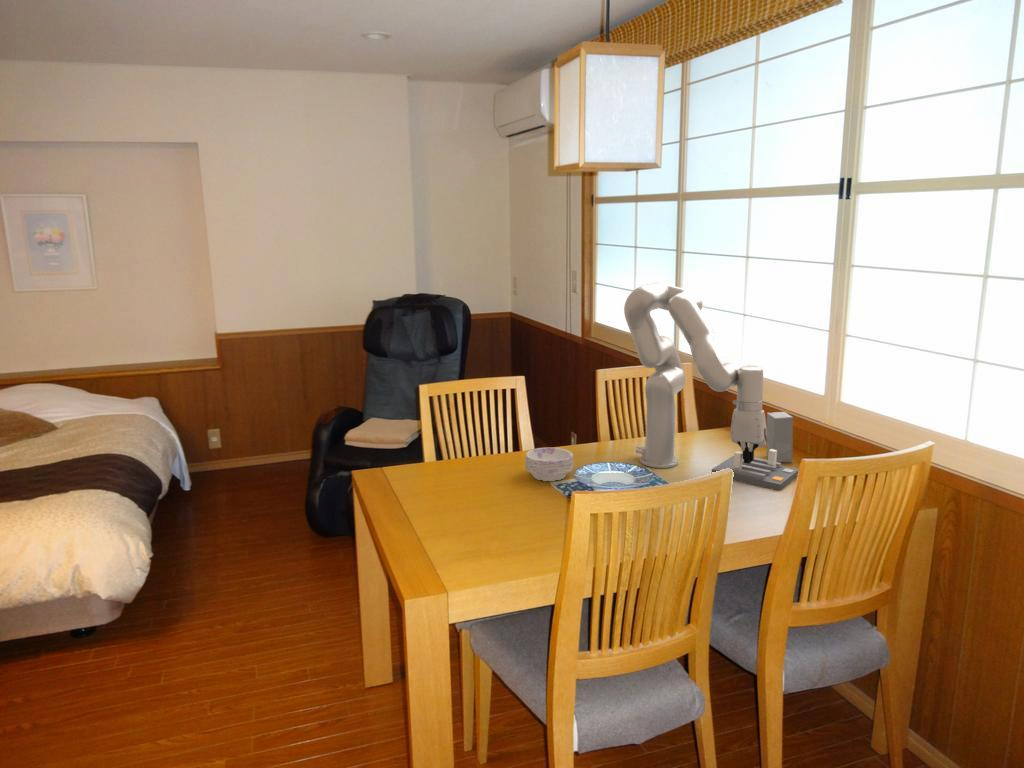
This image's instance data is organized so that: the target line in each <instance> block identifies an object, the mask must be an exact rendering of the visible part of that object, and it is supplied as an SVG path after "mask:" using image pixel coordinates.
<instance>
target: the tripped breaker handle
mask: <svg viewBox="0 0 1024 768" xmlns="http://www.w3.org/2000/svg"><path fill="white" fill-rule="evenodd" d="M733 456H734V467H735V468H739V469H742V462H743V451H742V452H741V451H735V452H734V454H733Z"/></svg>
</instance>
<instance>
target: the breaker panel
mask: <svg viewBox="0 0 1024 768" xmlns="http://www.w3.org/2000/svg"><path fill="white" fill-rule="evenodd" d="M726 468H730V469H732V470H733V472H734V477H733V480H732V481H735V480H736V482H740V481H741V482H740V483H744V482H745V483H744V484H748V483H749V485H753V486H756V487H757V486H758V487H762V488H766V489H770V490H775V491H778V492H779V491H781V490H783V489H785V487H786V486H789V484H790V483H791V482H792V481H794V480H795V479H796V478H797V477H798V476H797V474H798V470H799V471H800V468H795V467H790V466H785V465H782V462H776V466H771V465H768V459H764V458H760V457H759V458H758V457H754V460H753V461H752V462H751V463H749V464H748V463H744V459H743V462H742V469H739V468H735V467H734V455H732V456H730V457H729V458H727V459H726V460H724V461H722V462H721V463H720V464H717V465H716V466H715V467H712V469H711V473H712V472H716V471H720V470H722V469H726Z"/></svg>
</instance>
